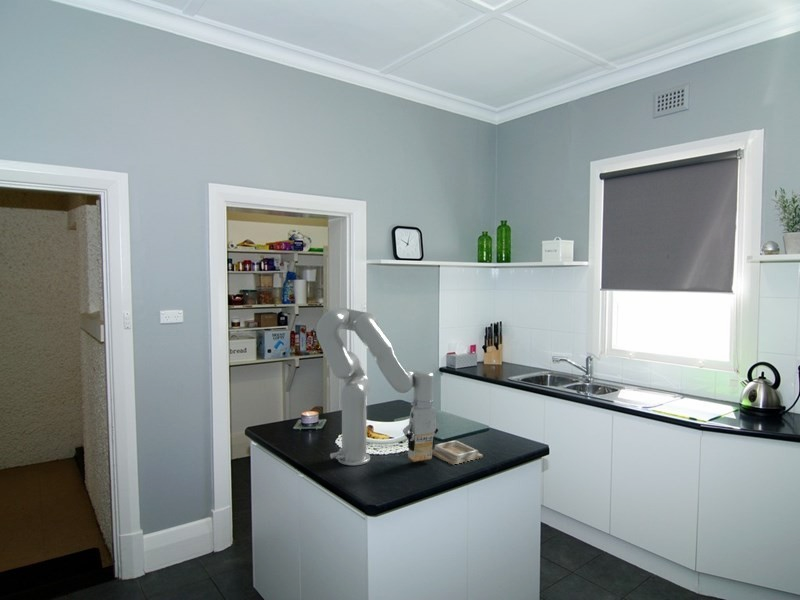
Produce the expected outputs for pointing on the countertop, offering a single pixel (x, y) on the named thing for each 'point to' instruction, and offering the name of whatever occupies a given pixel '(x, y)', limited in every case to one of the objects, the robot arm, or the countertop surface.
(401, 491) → the countertop surface
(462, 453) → the board
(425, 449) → the supplement box
